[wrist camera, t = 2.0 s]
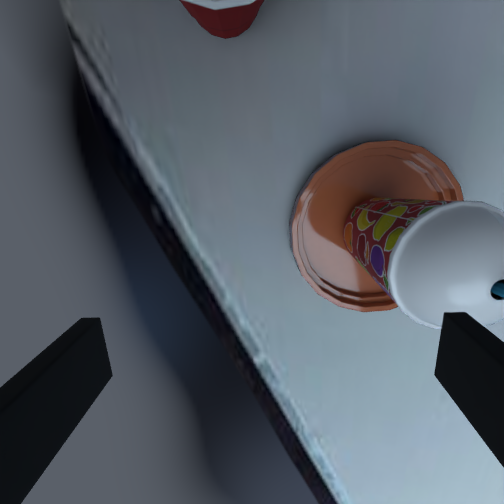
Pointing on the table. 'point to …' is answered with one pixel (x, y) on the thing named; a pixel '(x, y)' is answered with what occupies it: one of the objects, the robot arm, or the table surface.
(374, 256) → the smoothie
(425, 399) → the table surface
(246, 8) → the plastic cup
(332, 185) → the plate
